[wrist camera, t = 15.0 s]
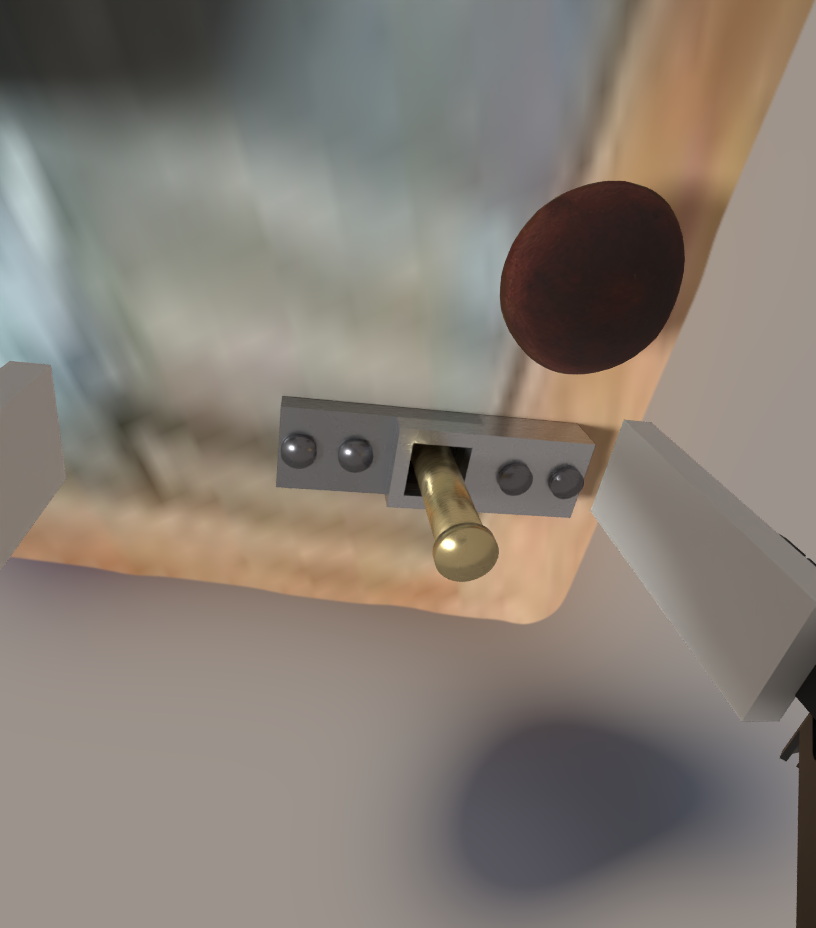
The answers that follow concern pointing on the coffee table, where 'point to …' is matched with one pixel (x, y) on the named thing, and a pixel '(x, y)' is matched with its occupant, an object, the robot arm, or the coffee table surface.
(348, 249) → the coffee table surface
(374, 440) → the riveted socket bracket
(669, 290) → the decorative mushroom
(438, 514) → the brass pin
